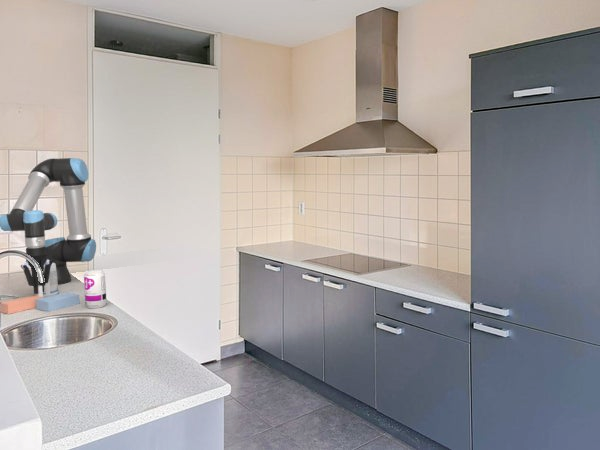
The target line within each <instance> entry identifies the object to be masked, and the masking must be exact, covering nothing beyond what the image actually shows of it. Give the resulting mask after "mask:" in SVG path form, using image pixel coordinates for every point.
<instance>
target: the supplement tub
mask: <svg viewBox="0 0 600 450" xmlns="http://www.w3.org/2000/svg"><path fill="white" fill-rule="evenodd" d="M44 269H45V264H44ZM43 271H44V270H43ZM38 284H39V282H38ZM58 294H59V284H58V281H57V270H56V264H55V263H52V265H51V268H50V274H49V281H48V283H46V284H45V286H44V292H43V298H45V297H49V296H53V295H58Z"/></svg>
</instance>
